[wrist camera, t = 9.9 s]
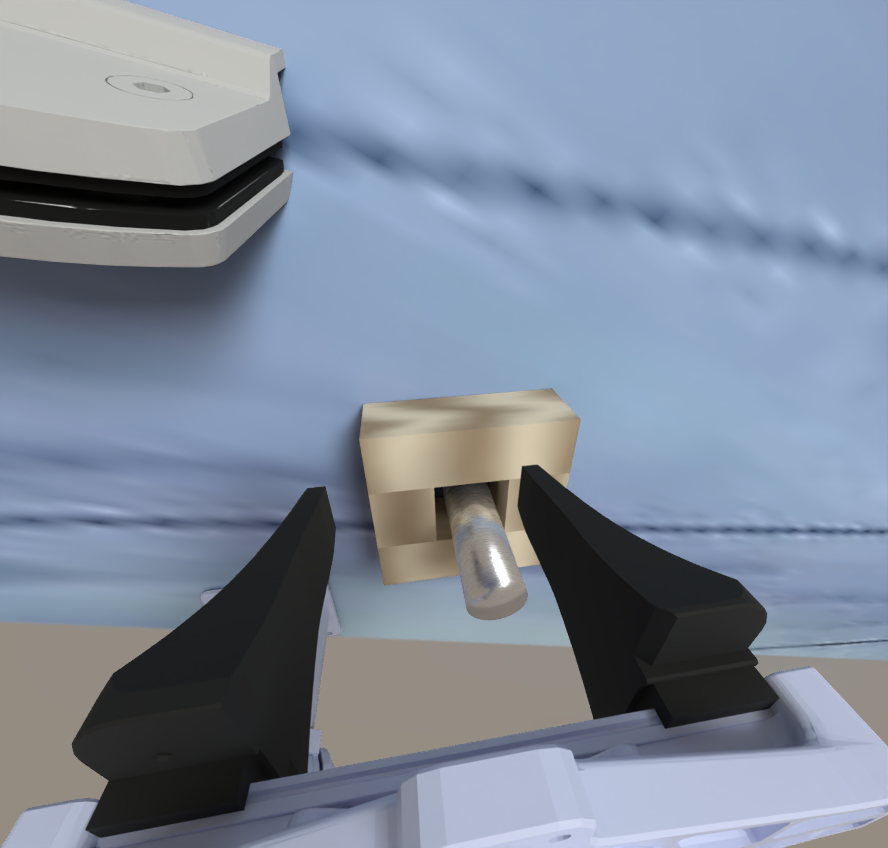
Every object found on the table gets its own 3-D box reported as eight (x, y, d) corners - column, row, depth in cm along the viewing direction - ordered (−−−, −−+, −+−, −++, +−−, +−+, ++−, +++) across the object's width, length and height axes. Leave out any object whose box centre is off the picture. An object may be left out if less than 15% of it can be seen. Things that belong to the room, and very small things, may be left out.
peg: (441, 490, 26) (467, 624, 18) (437, 457, 25) (464, 587, 16) (481, 484, 27) (526, 613, 18) (480, 451, 25) (529, 576, 16)
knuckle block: (384, 539, 28) (384, 585, 25) (363, 403, 22) (359, 439, 18) (532, 521, 29) (551, 562, 26) (552, 388, 23) (580, 419, 20)
